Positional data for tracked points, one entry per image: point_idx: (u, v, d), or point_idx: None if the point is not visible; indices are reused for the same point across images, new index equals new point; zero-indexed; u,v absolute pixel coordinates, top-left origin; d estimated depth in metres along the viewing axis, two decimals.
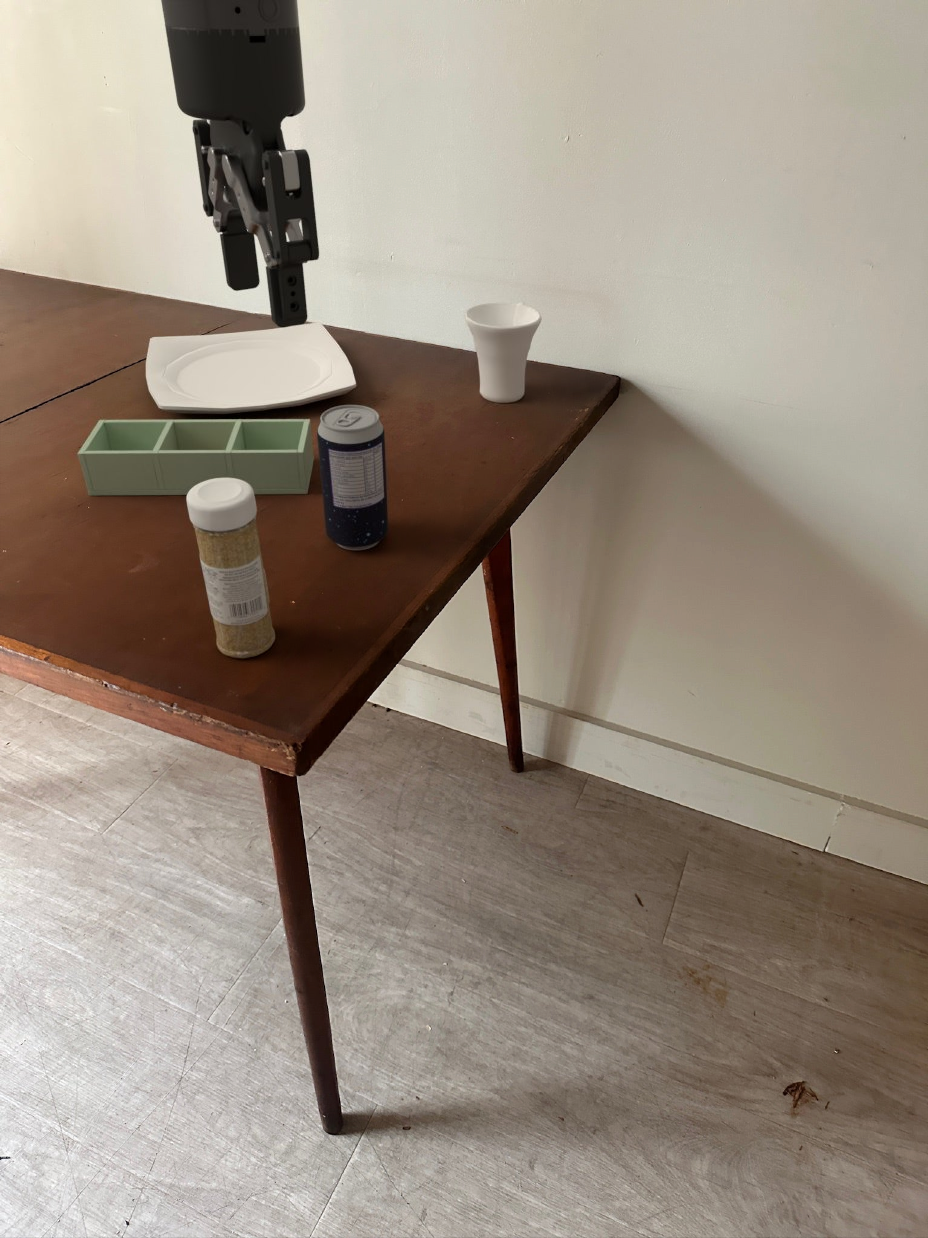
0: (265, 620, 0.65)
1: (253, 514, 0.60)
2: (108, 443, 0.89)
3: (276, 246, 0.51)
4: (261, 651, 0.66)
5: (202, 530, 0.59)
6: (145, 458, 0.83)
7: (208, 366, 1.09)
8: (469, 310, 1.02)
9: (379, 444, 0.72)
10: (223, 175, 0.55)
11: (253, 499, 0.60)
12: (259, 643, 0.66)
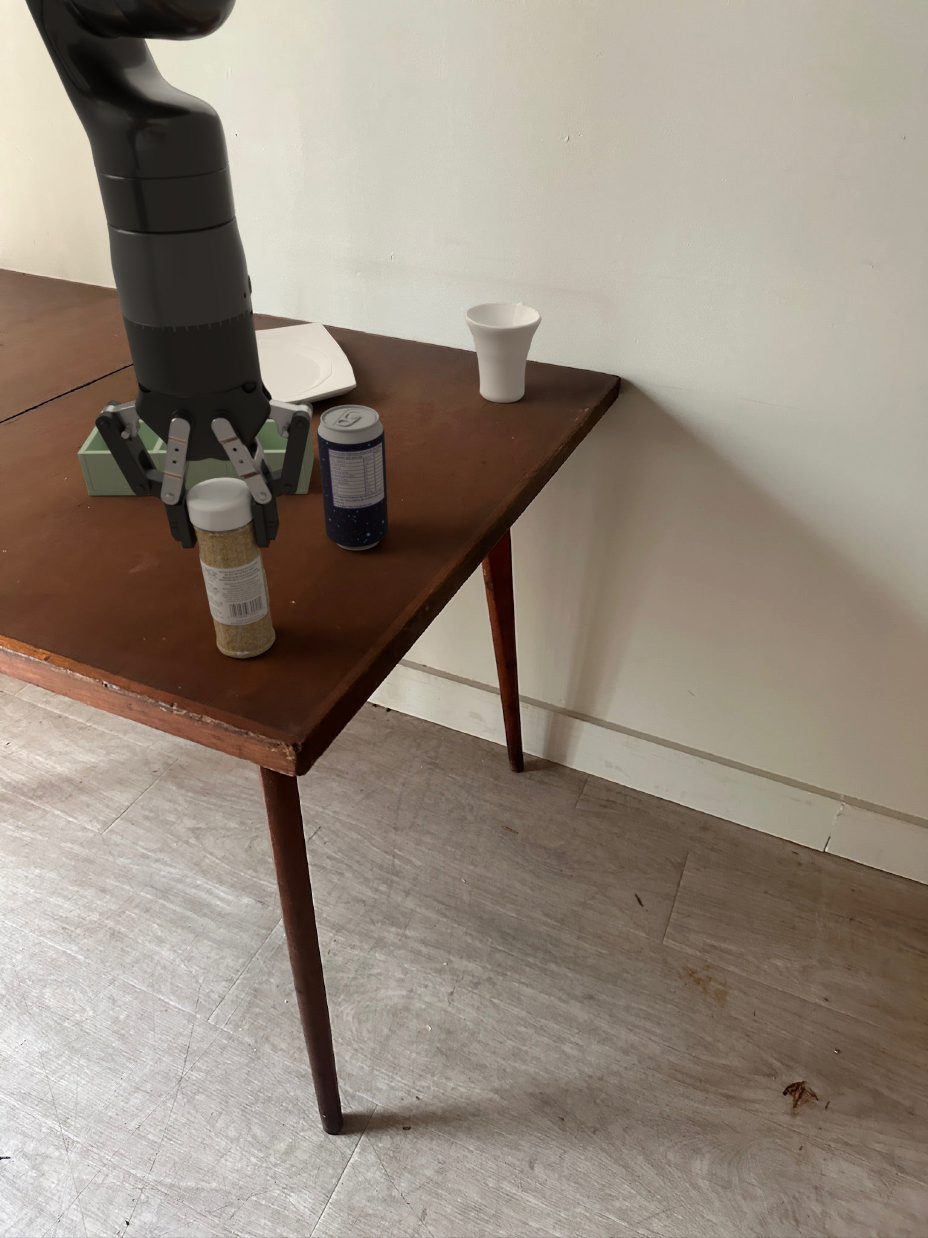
0: (265, 620, 0.65)
1: None
2: None
3: (288, 482, 0.58)
4: (261, 651, 0.66)
5: (202, 530, 0.59)
6: None
7: None
8: (469, 310, 1.02)
9: (379, 444, 0.72)
10: None
11: None
12: (259, 643, 0.66)
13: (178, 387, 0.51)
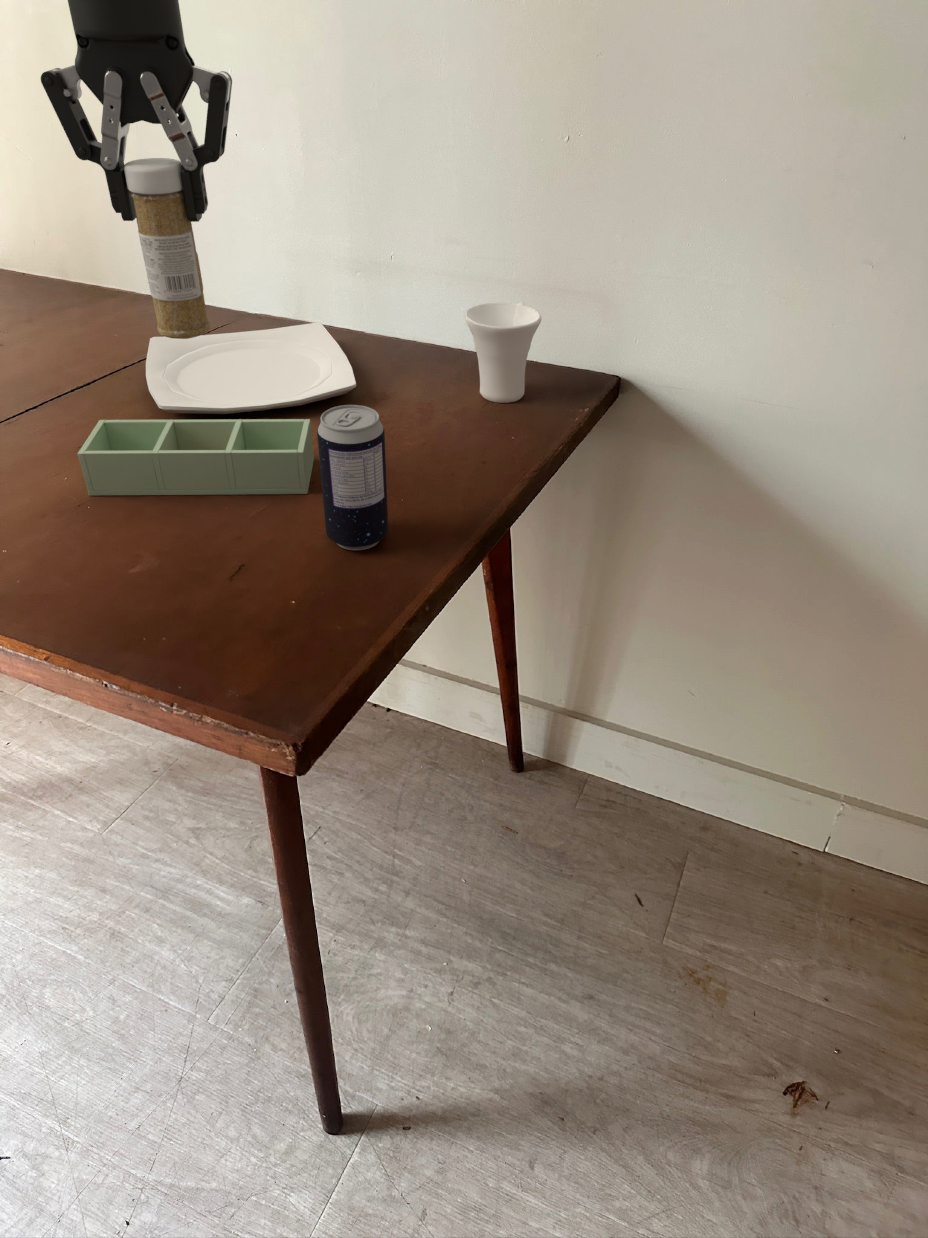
0: (199, 302, 0.74)
1: None
2: (108, 443, 0.89)
3: (211, 147, 0.66)
4: (196, 333, 0.75)
5: (137, 195, 0.68)
6: (145, 458, 0.83)
7: (208, 366, 1.09)
8: (469, 310, 1.02)
9: (379, 444, 0.72)
10: None
11: None
12: (194, 325, 0.74)
13: (107, 26, 0.59)
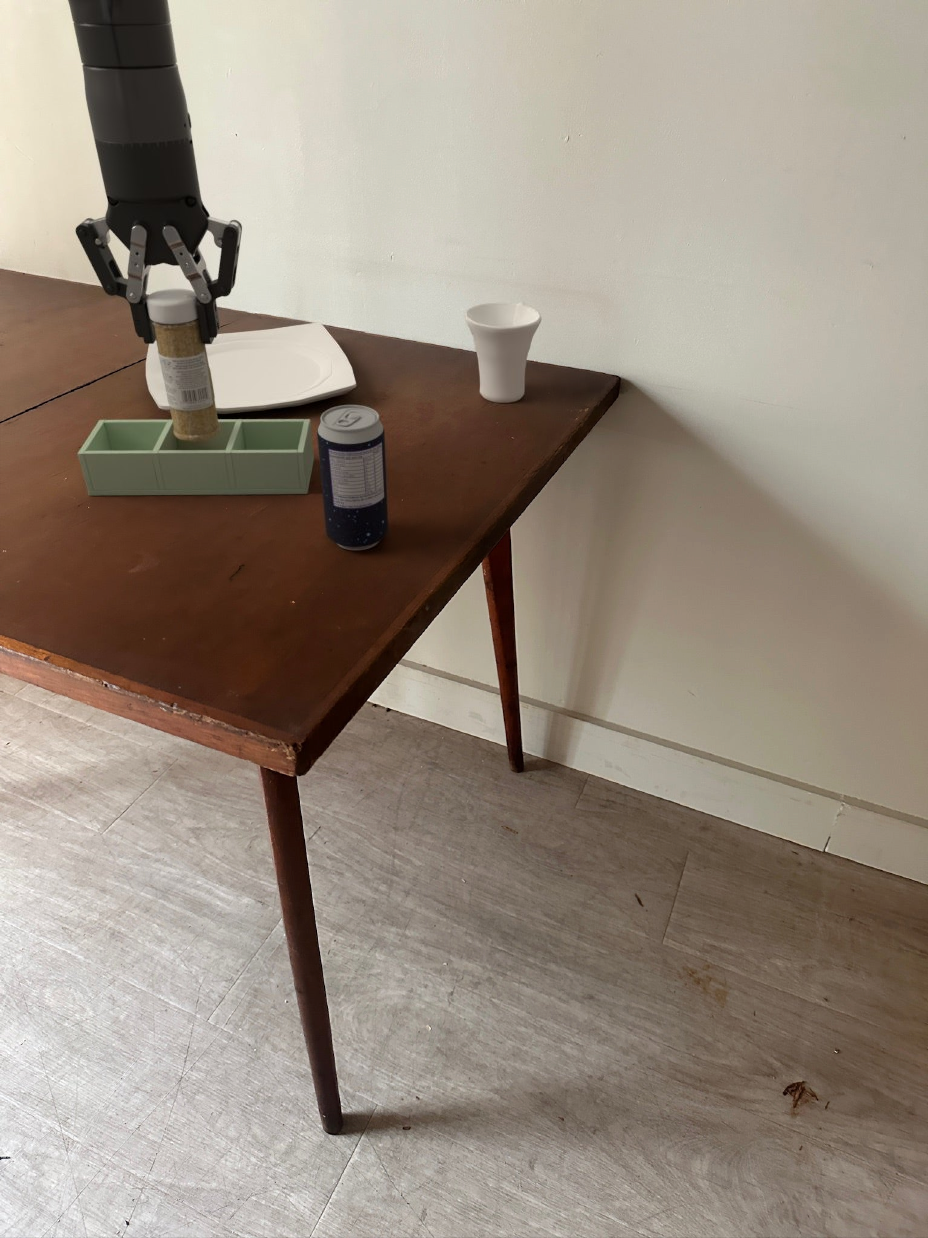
0: (211, 410, 0.83)
1: None
2: (108, 443, 0.89)
3: (223, 284, 0.76)
4: (208, 436, 0.84)
5: (158, 324, 0.77)
6: (145, 458, 0.83)
7: None
8: (469, 310, 1.02)
9: (379, 444, 0.72)
10: None
11: None
12: (207, 429, 0.83)
13: (135, 193, 0.69)
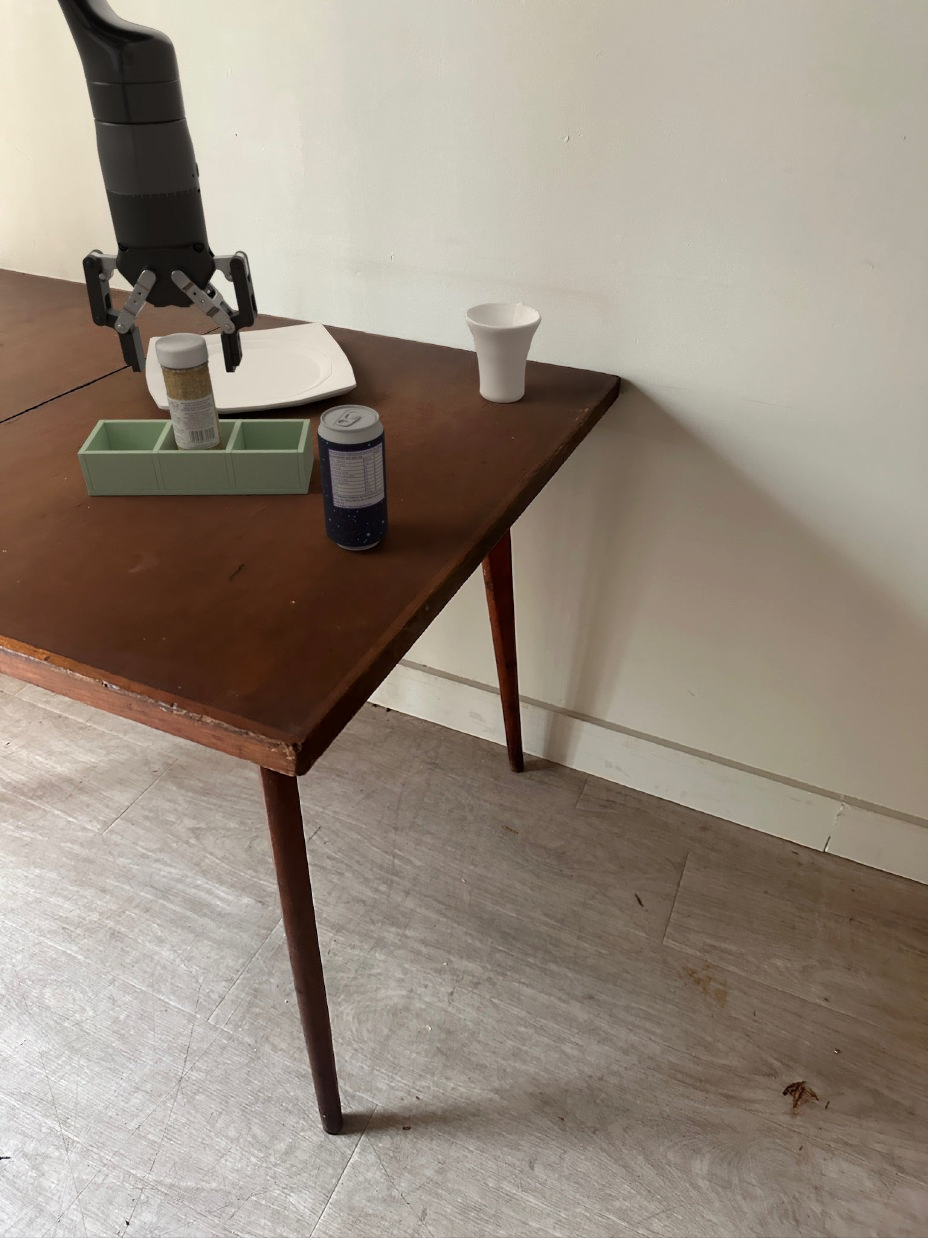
0: (217, 448, 0.85)
1: (205, 358, 0.80)
2: (108, 443, 0.89)
3: (245, 315, 0.77)
4: None
5: (167, 368, 0.79)
6: (145, 458, 0.83)
7: (208, 366, 1.09)
8: (469, 310, 1.02)
9: (379, 444, 0.72)
10: (152, 287, 0.75)
11: (205, 346, 0.80)
12: None
13: (145, 241, 0.71)
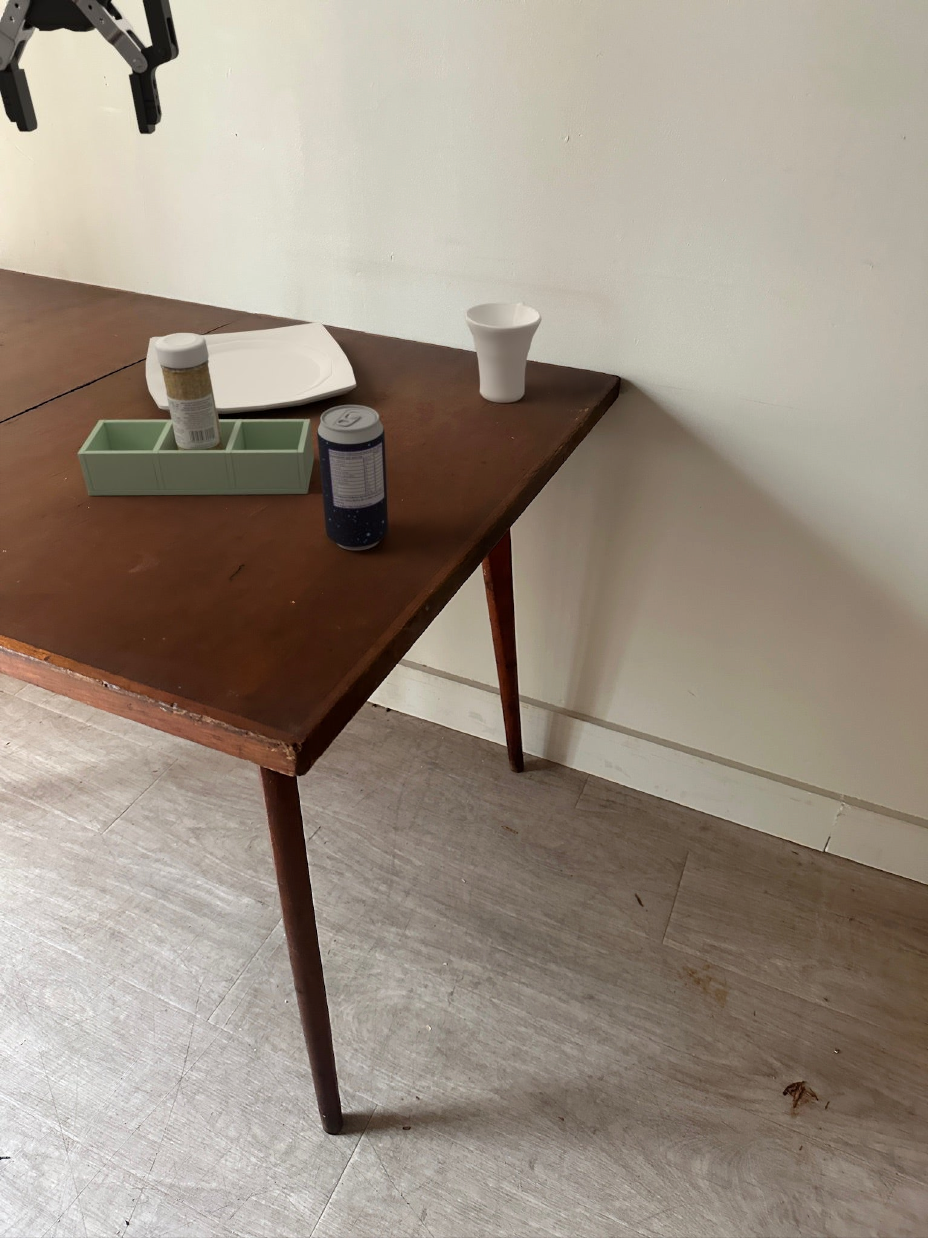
0: (217, 448, 0.85)
1: (205, 358, 0.80)
2: (108, 443, 0.89)
3: (160, 44, 0.59)
4: None
5: (167, 368, 0.79)
6: (145, 458, 0.83)
7: (208, 366, 1.09)
8: (469, 310, 1.02)
9: (379, 444, 0.72)
10: None
11: (205, 346, 0.80)
12: None
13: None
